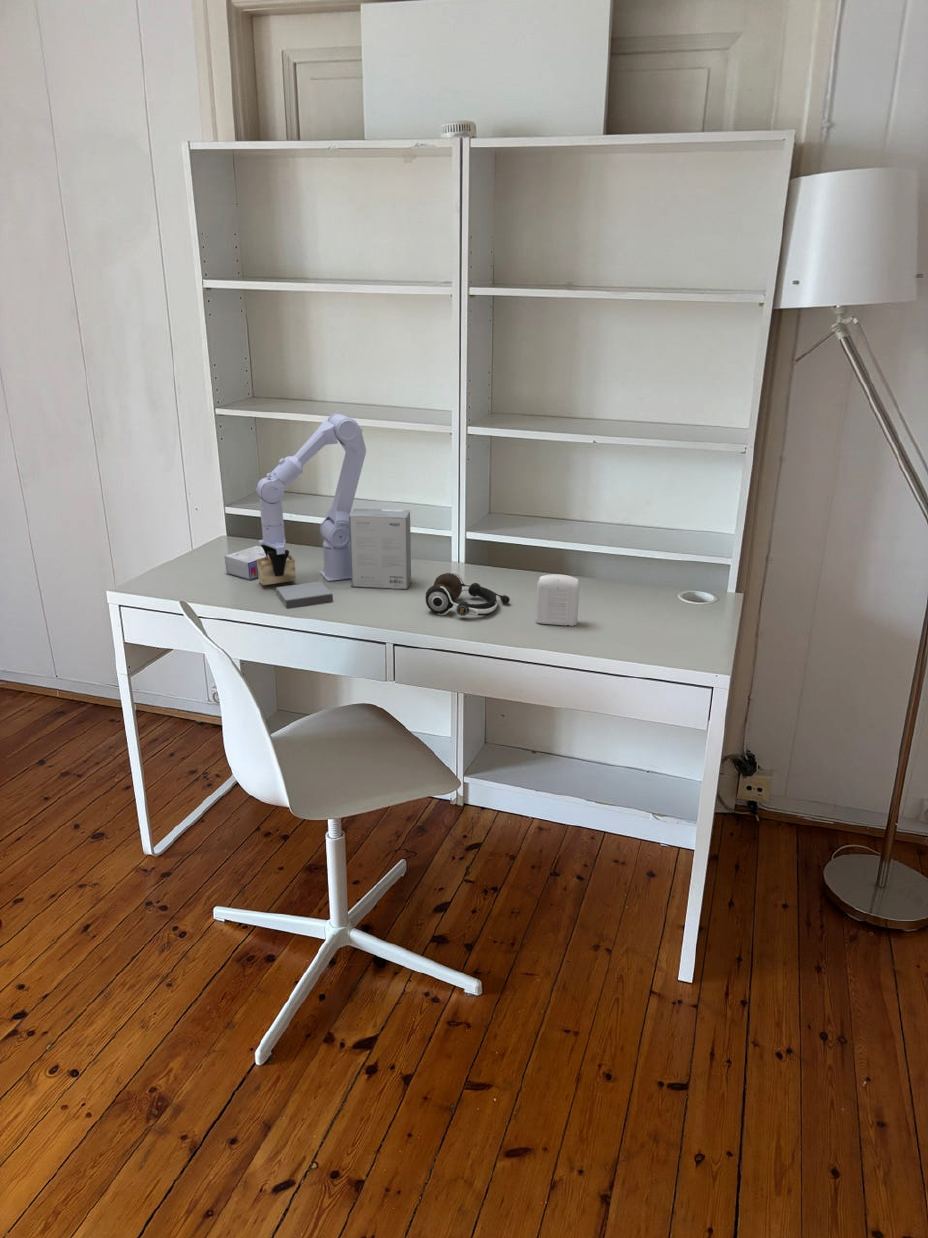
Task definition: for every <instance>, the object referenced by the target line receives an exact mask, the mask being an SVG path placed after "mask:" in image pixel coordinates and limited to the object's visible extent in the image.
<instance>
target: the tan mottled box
mask: <svg viewBox="0 0 928 1238" xmlns="http://www.w3.org/2000/svg"><path fill="white" fill-rule="evenodd" d="M295 562H296V560H295V559H294V558H293V557H292V556H291V554H290V553H289V555H288V557H287V559H286V563H285V569H284V575H283V576H275V573H274V570H273V565H272V563H270V562H269V561H268V557H267V558H259V559H257V567H258V577H257V578H258V580H259V582H260V584H261V585H262V586H267V585H275V584H280V583H281V584H282V583H286V582H287V583H288V582H294V581H297V576H296V575H297V573H296V563H295Z"/></svg>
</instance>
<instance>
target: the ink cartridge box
mask: <svg viewBox="0 0 928 1238" xmlns="http://www.w3.org/2000/svg"><path fill="white" fill-rule="evenodd" d="M259 558H267V557H266V554H265V552H264V550H263V548H262V546H261V545H254V546H251V547H248V548H245V549H243V550H238V551H236V552H233V553H229V554H227V555H225V556H224V561H225V563H224V564H225V570H226V574H228V575H231V576H235V577H239V578H243V579H245V580H249V581H252V580H255V579H257V578H259V577H258V567H257V559H259Z"/></svg>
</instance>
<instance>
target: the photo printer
mask: <svg viewBox="0 0 928 1238" xmlns="http://www.w3.org/2000/svg"><path fill="white" fill-rule="evenodd" d="M536 585H537V586H536V601H535V602H536V603H535V618H534V619H535V622H536V623H537V624H544V625H555V626H556V625H559V626H567V625H569V626H568V627H570V626H571V627H574V625H575V626H577V625H578V619H579V618H578V615H579V602H580V590H581V589H580V583H579V579H578V578H576V577H574V576H570V575H567V574H566V575H565V574H559V573H557V574H555V573H554V574H553V573H552V574H545V575H541V576H540V577H539V578H538V581H537V584H536Z"/></svg>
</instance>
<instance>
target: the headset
mask: <svg viewBox="0 0 928 1238" xmlns="http://www.w3.org/2000/svg"><path fill="white" fill-rule="evenodd" d="M463 587H465V588H463ZM466 587H468V589H466ZM464 591H465V592H468V594H469V596H471V597H479V598H482V599H483V600H485V601H486V602H485V603H484V602H483V603H468V602H467V601H461V602H459V603H456V602H455V600H457V599H458V598H459V597H460V595H461V594H462V592H464ZM424 597H425V604H426V606H427V608H428V609H429V610H430V611H431V612H433V613H434V614H437V615H438V616H439V615H440V616H444V615H447V614H448V613H449V612H450V611H455V612H457V614H458V615H459V616H461V617H465V616H467V615H470V616H471V615H472V616H478V617H479V616H481V617H482V616H484V617H485V616H489V615H491V614H492V613H493V612H494V611H495V610H496V609H497V606H498V603H499V602H498V601H499V599H498V597H499V598H500V601H501V602H502V603H503V604H509V602H510V601H511V598H510V597H509V596H508V595H505V594H503V595H500V594H498V593H496V592H494V591H493V590H491V589H489V588H486V587H483V586H481V585H480V584H479V583H477V582H473V583H471V584H468V583H465V581H464V580H463V578H462V577H461V576H460V575H459V574H458V573H456V572H454V571H453V572H446V573H442V574H440V575H438V576H437V577H436V578H435V580H434V583H433V585H431V586H430V587H429V588H428V589H427V591H426V593H425V596H424ZM454 605H455V606H456V608H454Z"/></svg>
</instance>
